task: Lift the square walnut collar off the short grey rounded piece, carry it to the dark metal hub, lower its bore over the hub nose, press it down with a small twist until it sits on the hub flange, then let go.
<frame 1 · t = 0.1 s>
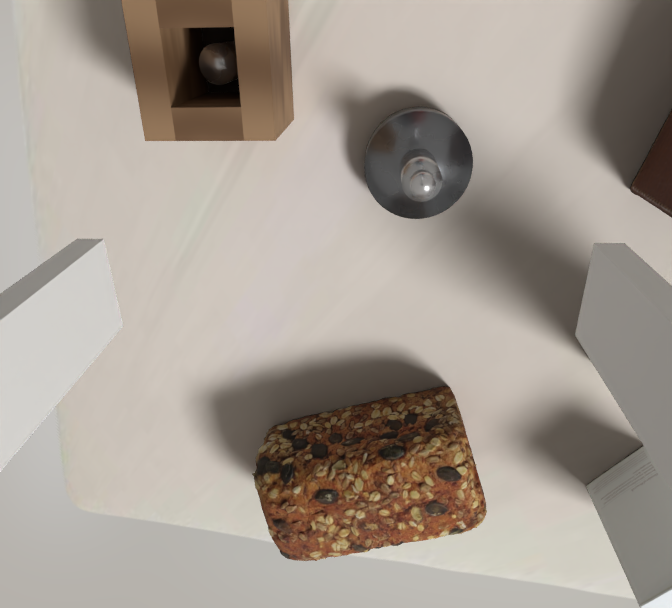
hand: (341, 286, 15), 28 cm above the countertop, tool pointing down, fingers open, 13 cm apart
grey rounded piece: (234, 59, 38), on the countertop
bread: (371, 438, 54), on the countertop
hub: (416, 160, 41), on the countertop
collar: (234, 59, 38), on the countertop
supplement box: (638, 481, 54), on the countertop
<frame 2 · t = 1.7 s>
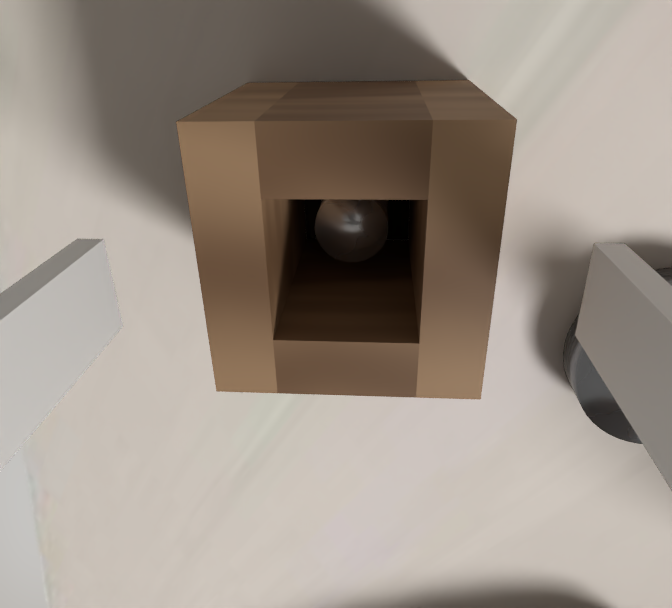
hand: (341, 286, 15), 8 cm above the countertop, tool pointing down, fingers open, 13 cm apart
grey rounded piece: (356, 189, 22), on the countertop
hub: (653, 346, 24), on the countertop
collar: (356, 189, 22), on the countertop
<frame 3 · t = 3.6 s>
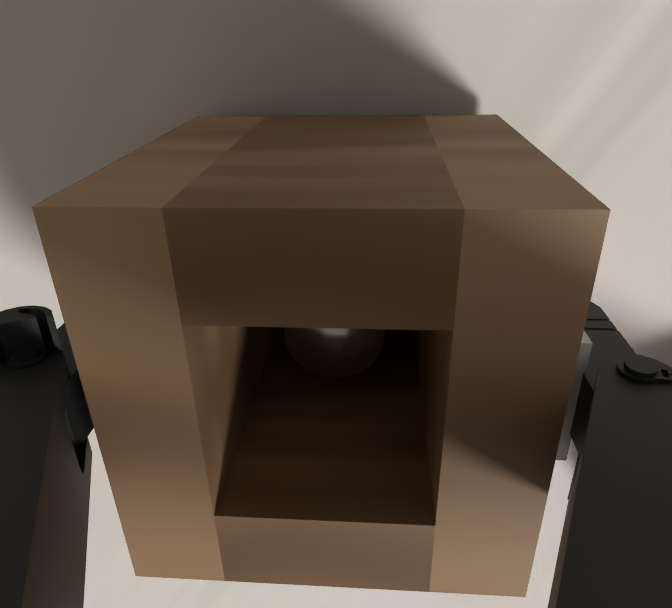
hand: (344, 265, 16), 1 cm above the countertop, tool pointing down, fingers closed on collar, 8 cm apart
grey rounded piece: (344, 265, 17), on the countertop
collar: (345, 255, 16), on the countertop, touching gripper
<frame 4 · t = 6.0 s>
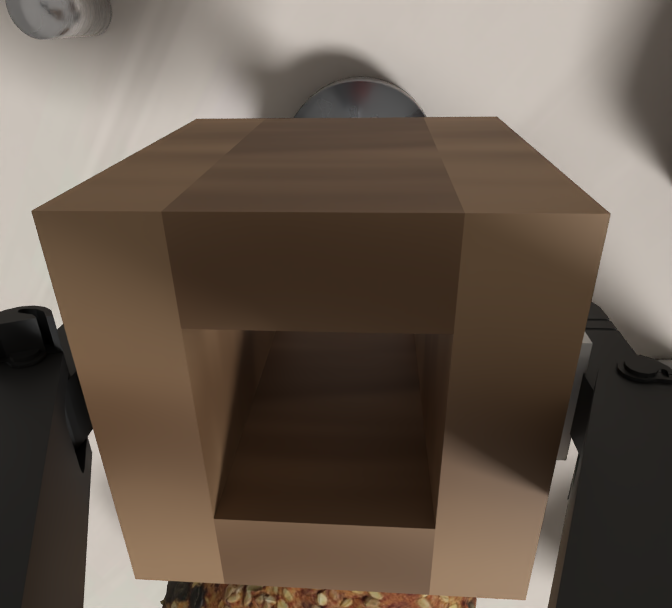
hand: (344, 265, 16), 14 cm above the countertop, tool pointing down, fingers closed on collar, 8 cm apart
grey rounded piece: (86, 8, 26), on the countertop
bread: (325, 518, 41), on the countertop
hub: (360, 156, 28), on the countertop
collar: (345, 257, 16), point 14 cm above the countertop, touching gripper
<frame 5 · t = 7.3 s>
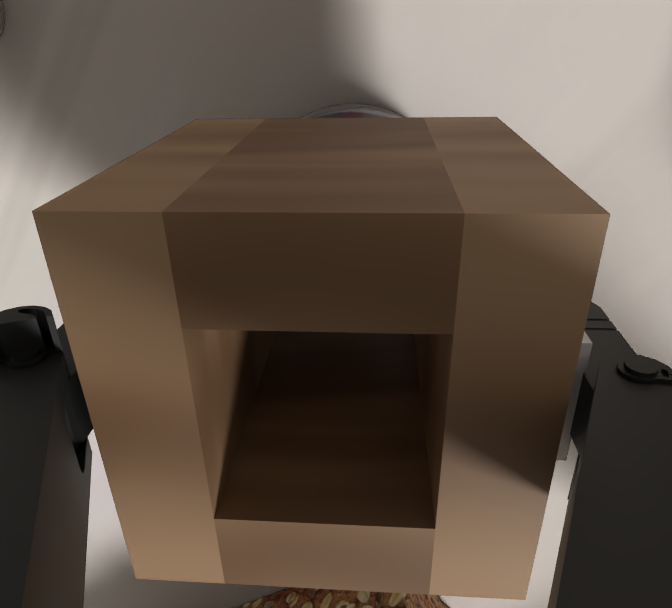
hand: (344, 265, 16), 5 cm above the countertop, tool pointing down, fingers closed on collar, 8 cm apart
hub: (352, 208, 21), on the countertop
collar: (345, 257, 16), point 5 cm above the countertop, touching gripper
when the fingers open (3 cm above the countertop, at t = 8.4 s): collar stays where it is, resting on hub.
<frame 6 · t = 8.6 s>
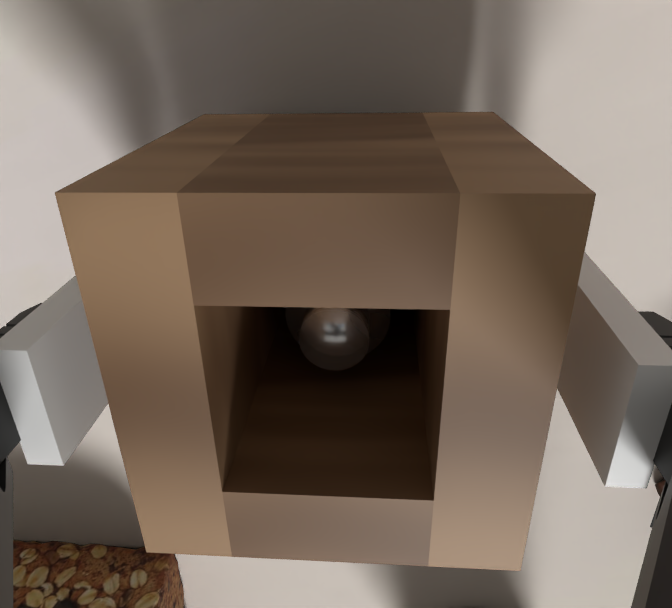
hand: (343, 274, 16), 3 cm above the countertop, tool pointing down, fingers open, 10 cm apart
bread: (32, 591, 30), on the countertop
hub: (349, 233, 19), on the countertop
collar: (347, 248, 17), point 2 cm above the countertop, touching hub
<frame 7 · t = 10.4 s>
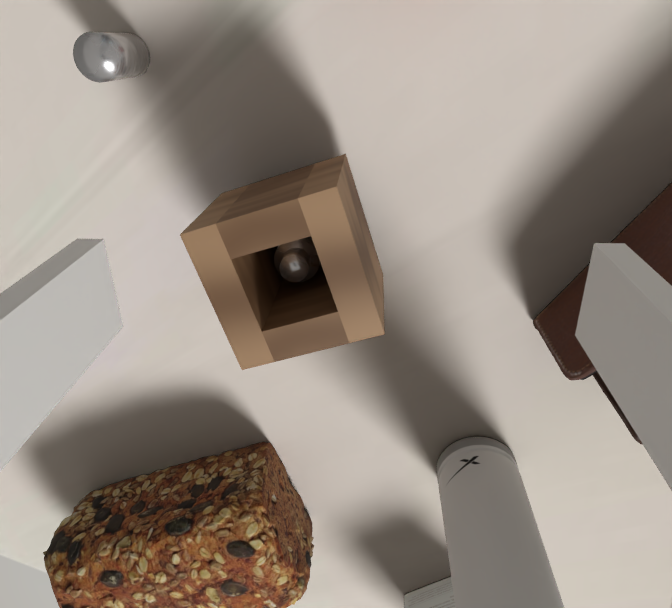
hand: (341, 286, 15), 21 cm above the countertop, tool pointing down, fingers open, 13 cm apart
grey rounded piece: (130, 55, 33), on the countertop
bread: (201, 500, 48), on the countertop
travel mug: (472, 463, 44), on the countertop
hub: (308, 228, 37), on the countertop
collar: (304, 234, 35), point 2 cm above the countertop, touching hub
supplement box: (455, 601, 52), on the countertop
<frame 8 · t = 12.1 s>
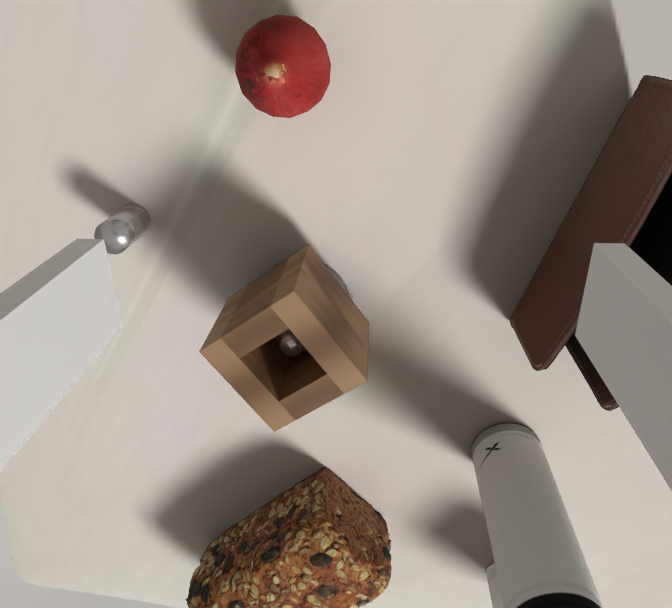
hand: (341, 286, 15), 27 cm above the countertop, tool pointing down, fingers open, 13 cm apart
grey rounded piece: (135, 218, 43), on the countertop
bread: (295, 527, 58), on the countertop
travel mug: (503, 447, 51), on the countertop
hub: (303, 301, 46), on the countertop
onion: (292, 63, 38), on the countertop
letter holder: (626, 230, 41), on the countertop
collar: (299, 310, 44), point 2 cm above the countertop, touching hub
supplement box: (533, 565, 58), on the countertop
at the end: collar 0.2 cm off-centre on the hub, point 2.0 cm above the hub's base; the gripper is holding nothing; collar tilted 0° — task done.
